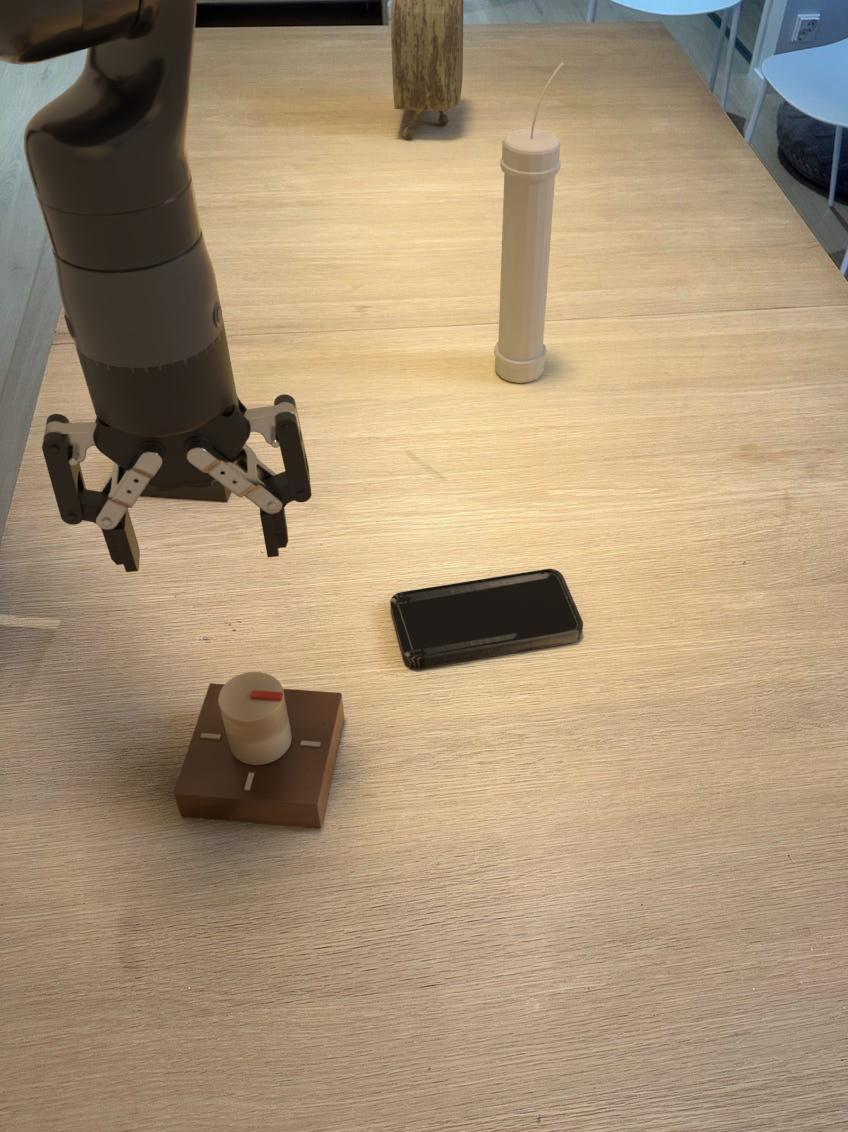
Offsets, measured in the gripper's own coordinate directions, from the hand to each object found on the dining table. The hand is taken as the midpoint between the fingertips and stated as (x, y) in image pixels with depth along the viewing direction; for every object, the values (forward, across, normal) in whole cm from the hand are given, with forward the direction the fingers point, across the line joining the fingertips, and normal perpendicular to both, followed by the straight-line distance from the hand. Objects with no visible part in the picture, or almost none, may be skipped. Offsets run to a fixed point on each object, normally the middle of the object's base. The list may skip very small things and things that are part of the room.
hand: (203, 555), depth 66 cm
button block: (+18, +5, -33) cm, 38 cm away
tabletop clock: (+19, -29, -111) cm, 116 cm away
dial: (+16, -1, +3) cm, 16 cm away
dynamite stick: (+19, -30, -46) cm, 58 cm away
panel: (+19, -1, +3) cm, 19 cm away
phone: (+19, -20, -9) cm, 29 cm away
